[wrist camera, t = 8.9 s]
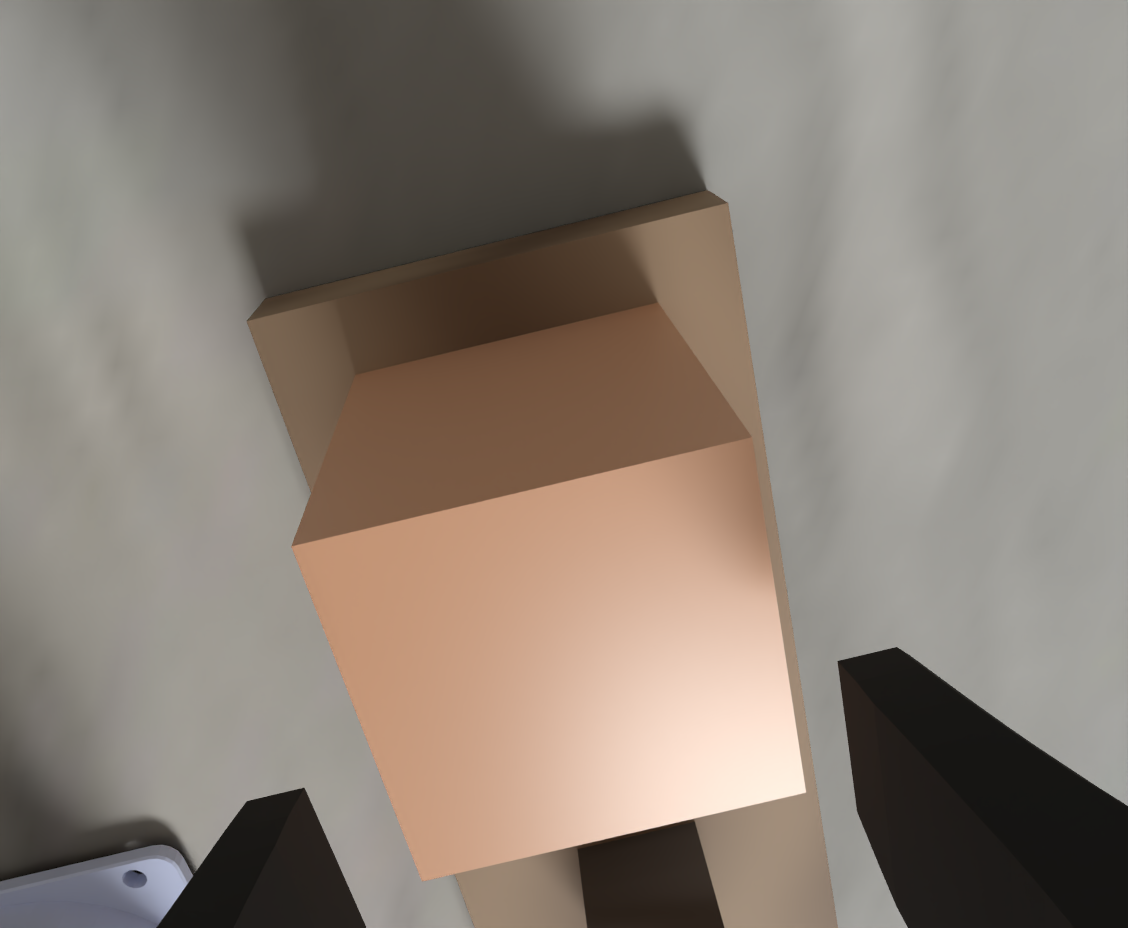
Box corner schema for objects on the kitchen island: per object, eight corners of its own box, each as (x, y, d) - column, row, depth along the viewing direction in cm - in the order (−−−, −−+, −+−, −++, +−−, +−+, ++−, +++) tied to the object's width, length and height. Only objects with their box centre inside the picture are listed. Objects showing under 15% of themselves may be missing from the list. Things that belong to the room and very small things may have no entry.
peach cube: (438, 628, 18) (421, 881, 13) (355, 374, 16) (291, 546, 11) (706, 565, 18) (805, 792, 13) (658, 302, 16) (752, 437, 10)
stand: (512, 979, 24) (523, 1252, 19) (265, 298, 17) (163, 420, 11) (822, 907, 24) (923, 1161, 19) (707, 189, 17) (818, 261, 11)
